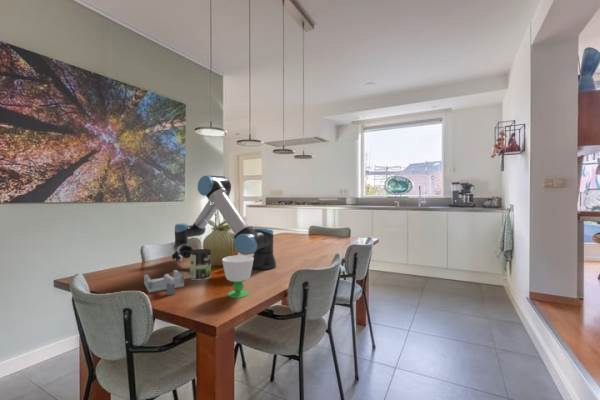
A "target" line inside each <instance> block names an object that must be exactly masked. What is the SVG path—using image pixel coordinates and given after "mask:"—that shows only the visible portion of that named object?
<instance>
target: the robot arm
mask: <svg viewBox="0 0 600 400" xmlns="http://www.w3.org/2000/svg"><path fill="white" fill-rule="evenodd" d="M231 190H232V183H231V181H230V180H229V179H228V178H227V177H226V176H222V175H221V176H220V175H211V174H208V175H203V176H201V177H200V178H199V180H198V182H197V192H198V193H199V194H200V195H201V196H203V197H204V196H205V197H206V198H207V200H208V201H207V203H206V204H205V206H204V207H203V209H202V210H201V212H200V213H199V214H198V216H197V218H196V219H195V221H194V222H193V224H191V225H188V223H176V224H175V225H174V244H173V251H174V253H173V254H172V255H171V257H172V260H175V261H180V262H181V263H182V262H184V259H190V251H192V250H194V249H193V247H192V246H191V245H189V244H188V241H189V240H188V238H193V237H199V236H202V235H204V234H206V229H207V228H206V226H207V225H208V224H209V222H208V223H207V222H206V221H205V220H211V219H212V218H213V216H214V215H215V213H216V212H217V210H218V211H219V213H220V214H221V216H222V217H223V219H224V220H225V222H226V224H227V225H228V226H229V229H230V230H231V231H232V232H233V239H234V245H233V246H234V248H235V250H236V251H237V252H238V253H239V254H240V255H247V256H249V255H252V257H253V258H254V260H253V265H252V270H258V271H259V270H272V269H274V268H276V267H277V261H276V259H275V258H276V257H275V255H274V230H273V229H272V228H261V227H259V228H258V227H254V228H253V227H252V226H251V225H248V224H247V223H246V221H245V220H244V218H243V217H242V215H241V214H240V212H239V210H238V209H237V208H236V206H235V205H234V204H233V202H232V201H231V199H230V197H229V195H230V194H231V192H232V191H231ZM210 201H211V202H214V204H213V205H210ZM204 219H205V220H204Z"/></svg>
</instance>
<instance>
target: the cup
mask: <svg viewBox="0 0 600 400" xmlns="http://www.w3.org/2000/svg"><path fill="white" fill-rule="evenodd" d="M253 260H254V258H253V255H252V256H251V255H243V254H238V255H237V254H236V255H229V256H225V257H223V258H222V260H221V262H222V266H223V271H224V275H225V278H226V280H227V281H229V282H231V283H233V285H232V289H233V291H229V292H228V294H227V296H228V297H229V298H233V299H239V298H240V297H241V298H245V297H247V296H248V295H249V294H250V293H249V291H247V290H243V289H244V283H243V282H245V281H247V280H248V279H250V277H251V274H252V270H253V268H252V265H253ZM244 296H245V297H244Z"/></svg>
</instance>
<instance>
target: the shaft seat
mask: <svg viewBox="0 0 600 400" xmlns="http://www.w3.org/2000/svg"><path fill="white" fill-rule="evenodd" d="M143 285H144V286H145V288H146V290H147V291H148V293H153V292H159V291H160V292H161V291H166V295H167V296H172V295H175V294H176V289H177V288H181V287H185V277H184V275H182V274H181V273H180V271H178V270H177V269H175V270H173V276H170V274H169V273H165V274H164V275H163V277H159V278H153V279H151V277H150V276H149V274H143Z"/></svg>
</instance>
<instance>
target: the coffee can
mask: <svg viewBox="0 0 600 400" xmlns="http://www.w3.org/2000/svg"><path fill="white" fill-rule="evenodd" d="M211 251H212V250H211V249H207V248H198V249H197V248H196V249H193V250H192V251H190V257H189V260H190V266H189V267H190V268H189V271H190V278H189V280H192V281H205V280H208V279H210V278H211V260H212V259H211V254H212V253H211Z"/></svg>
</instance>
